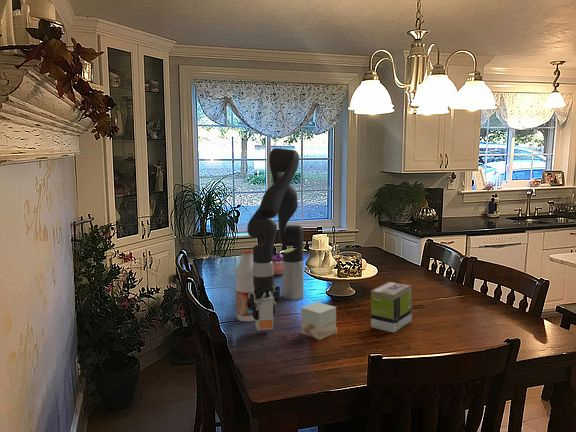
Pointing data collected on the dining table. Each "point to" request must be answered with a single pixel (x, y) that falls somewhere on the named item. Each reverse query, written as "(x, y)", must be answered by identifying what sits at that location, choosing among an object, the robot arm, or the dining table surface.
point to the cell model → (278, 264)
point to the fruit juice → (244, 285)
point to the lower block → (318, 330)
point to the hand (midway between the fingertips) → (264, 316)
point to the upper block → (318, 314)
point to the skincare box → (265, 314)
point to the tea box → (391, 306)
